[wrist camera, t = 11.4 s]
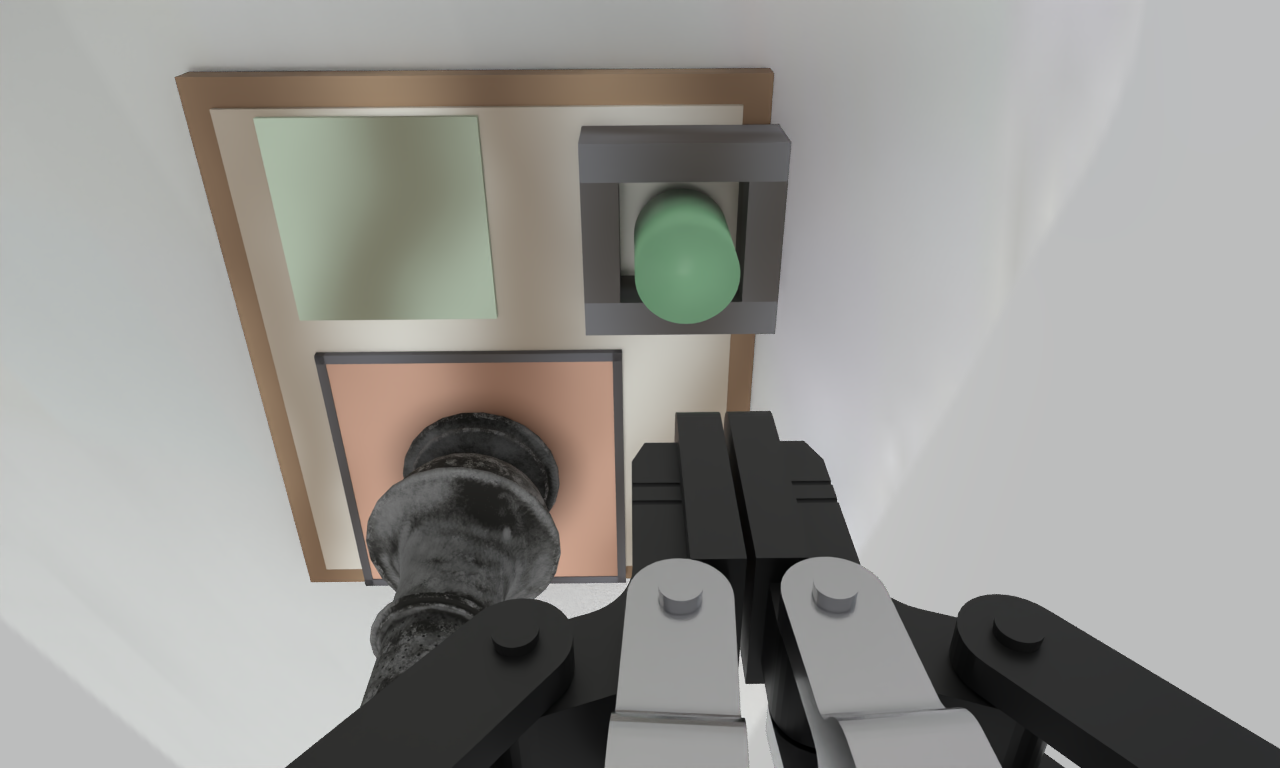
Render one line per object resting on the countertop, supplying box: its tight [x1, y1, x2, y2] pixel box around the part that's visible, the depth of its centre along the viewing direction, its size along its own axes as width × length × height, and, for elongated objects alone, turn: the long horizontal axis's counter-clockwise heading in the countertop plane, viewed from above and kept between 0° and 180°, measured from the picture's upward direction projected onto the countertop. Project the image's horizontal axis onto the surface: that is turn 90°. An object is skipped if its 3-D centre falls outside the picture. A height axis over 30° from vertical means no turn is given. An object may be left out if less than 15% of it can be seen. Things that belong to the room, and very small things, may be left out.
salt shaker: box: [360, 412, 561, 707], centre depth 23 cm, size 6×6×12 cm
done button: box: [634, 188, 740, 324], centre depth 22 cm, size 3×3×3 cm
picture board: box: [175, 68, 791, 586], centre depth 26 cm, size 16×18×3 cm
